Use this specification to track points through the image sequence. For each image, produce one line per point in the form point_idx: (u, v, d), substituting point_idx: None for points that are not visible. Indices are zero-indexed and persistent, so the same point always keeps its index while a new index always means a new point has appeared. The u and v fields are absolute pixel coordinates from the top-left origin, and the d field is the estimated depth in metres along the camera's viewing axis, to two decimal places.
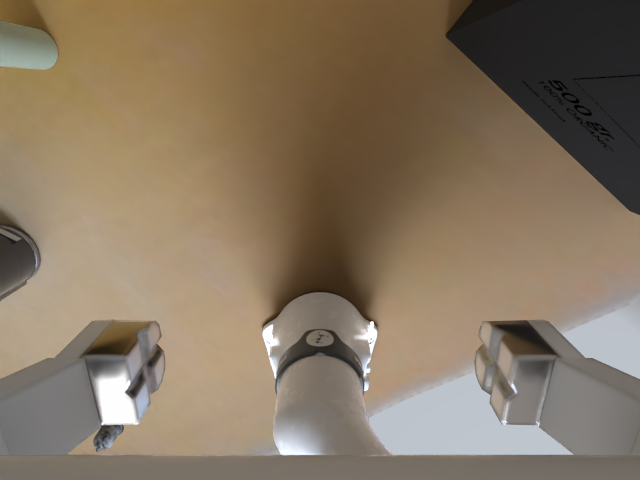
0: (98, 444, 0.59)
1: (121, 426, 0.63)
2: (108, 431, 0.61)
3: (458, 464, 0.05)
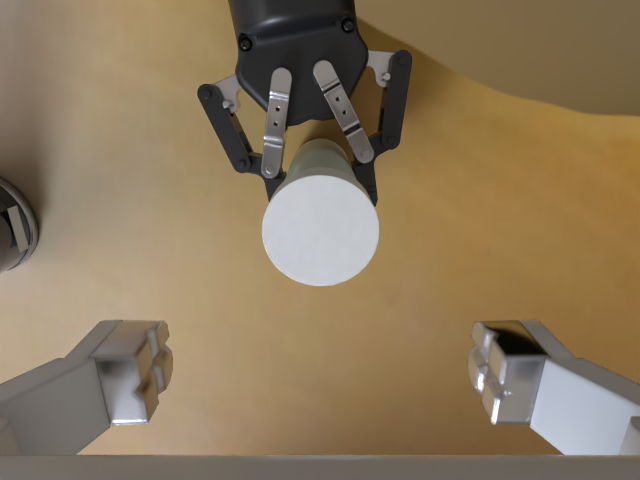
0: None
1: None
2: None
3: (458, 464, 0.05)
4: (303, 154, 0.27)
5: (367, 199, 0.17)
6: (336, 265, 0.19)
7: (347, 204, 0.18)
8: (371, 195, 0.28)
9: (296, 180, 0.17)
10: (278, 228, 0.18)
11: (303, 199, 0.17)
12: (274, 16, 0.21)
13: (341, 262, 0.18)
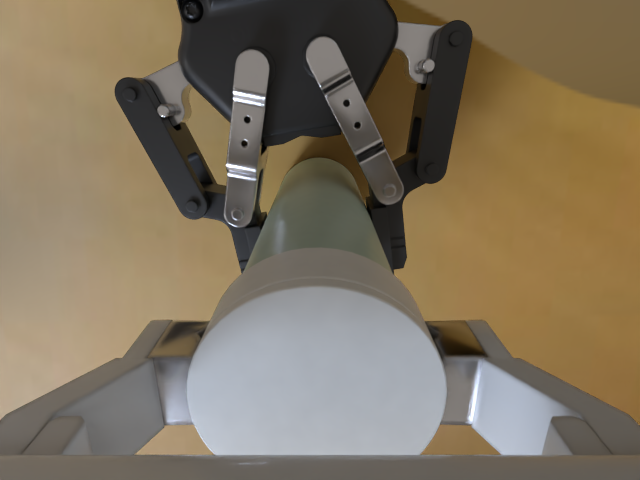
0: None
1: None
2: None
3: (458, 464, 0.05)
4: (291, 190, 0.17)
5: (423, 336, 0.08)
6: None
7: (379, 347, 0.08)
8: (397, 252, 0.18)
9: (259, 296, 0.07)
10: (223, 393, 0.08)
11: (277, 336, 0.08)
12: None
13: None
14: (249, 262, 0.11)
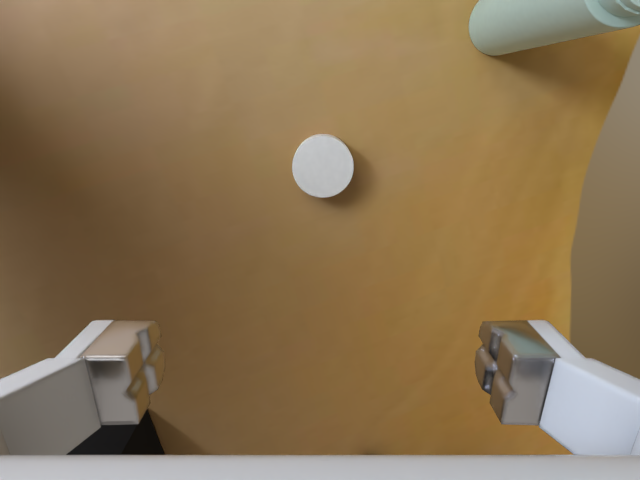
0: None
1: None
2: None
3: (458, 464, 0.05)
4: None
5: (344, 146, 0.34)
6: (333, 184, 0.35)
7: (335, 150, 0.34)
8: None
9: (307, 140, 0.34)
10: (301, 167, 0.34)
11: (311, 150, 0.34)
12: None
13: (335, 182, 0.35)
14: None
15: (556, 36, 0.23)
